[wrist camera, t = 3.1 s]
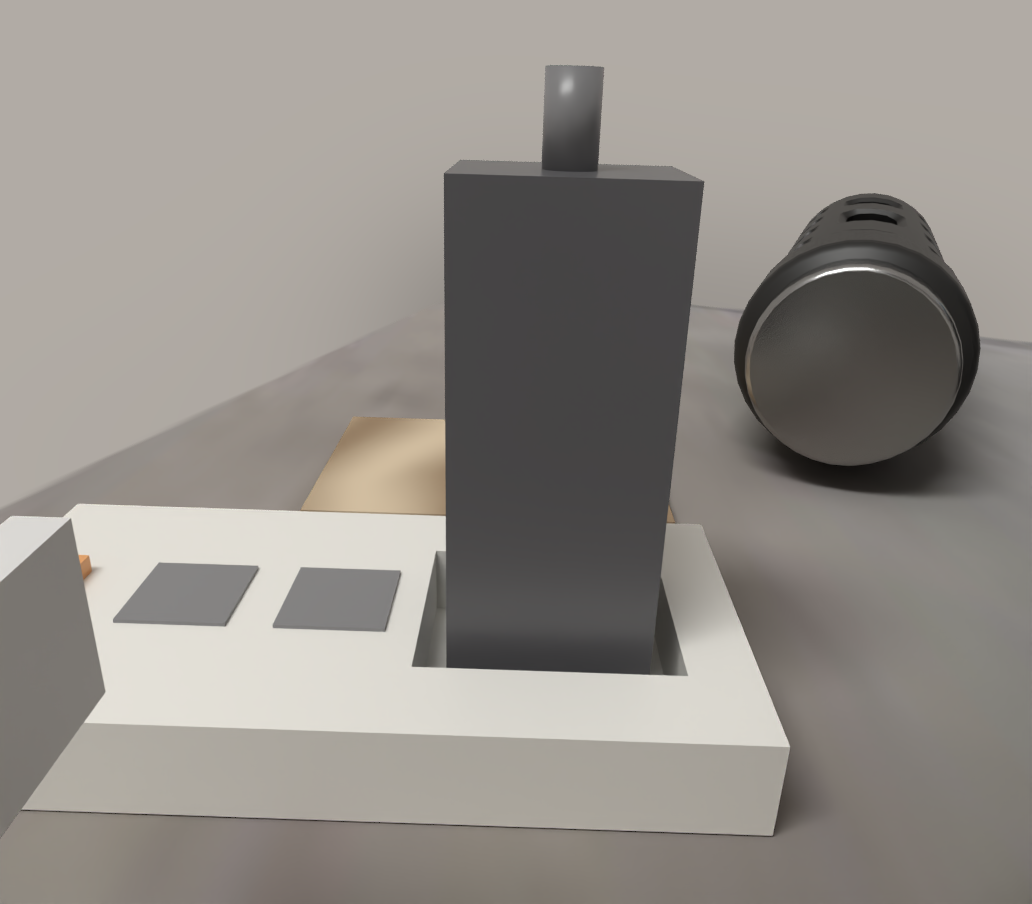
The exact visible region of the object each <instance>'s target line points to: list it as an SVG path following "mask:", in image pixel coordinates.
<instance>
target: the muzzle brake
mask: <svg viewBox="0 0 1032 904" xmlns="http://www.w3.org/2000/svg"><path fill="white" fill-rule="evenodd" d="M979 355H980V339H979V329H978V323H977V321H976V318H975V315H974V312H973V309H972V306H971V303H970V301H969V299H968V297H967V294H966V292H965V290H964V288H963V286H962V285H961V283H960V282H959V280H958V279H957V277H956V275H955V274H954V272H953V270H952V269H951V268H950V267H949V266H948V265H947V264H946V263H945V262H944V260H943V258H942V255H941V253H940V250H939V248H938V246H937V243H936V241H935V238H934V236H933V234H932V232H931V229H930V227H929V226H928V224H927V222H926V221H925V219H924V218H923V216H922V215H921V214H919V213H918V212H917V211H916V210H915V209H914V208H913V207H911V206H910V205H908V204H907V203H905V202H904V201H902V200H899V199H897V198H894V197H891V196H888V195H881V194H875V193H874V194H859V195H854V196H849V197H846V198H843V199H841V200H838V201H836V202H834V203H832V204H831V205H829V206H827V207H826V208H824V209H823V210H821V211H820V212H819V213H818V214H817V215H816V216H815V217H814V218H813V219H812V220H811V221H810V222H809V224H808V225H807V226H806V228H805V229H804V231H803V232H802V234H801V235H800V237H799V238H798V240H797V241H796V243H795V245H794V246H793V247H792V249H791V250H790V252H789V253H788V255H787V256H786V257H785V258H784V259H783V260H782V261H781V262H779V263H778V264H777V265H776V266H775V267H774V268H773V269H772V270H771V271H770V273H769V274H768V275H767V276H766V278H765V279H764V281H763V282H762V283H761V285H760V286H759V288H758V289H757V290H756V292H755V293H754V295H753V296H752V297H751V299H750V300H749V302H748V304H747V307H746V308H745V311H744V313H743V315H742V317H741V319H740V322H739V326H738V330H737V334H736V339H735V351H734V364H735V370H736V375H737V381H738V384H739V387H740V389H741V392H742V394H743V397H744V399H745V402H746V403H747V405H748V406H749V408H750V409H751V411H752V412H753V414H754V415H755V417H756V418H757V419H758V420H759V421H760V423H761V424H762V425H763V426H764V427H765V428H766V429H767V430H768V431H769V432H770V433H771V434H773V435H774V436H775V437H776V438H777V439H778V440H779V441H780V442H782V443H783V444H785V445H786V446H788V447H789V448H790V449H792V450H793V451H795V452H797V453H799V454H801V455H803V456H805V457H807V458H810V459H812V460H815V461H819V462H823V463H827V464H830V465H844V466H855V465H864V464H872V463H875V462H879V461H882V460H886V459H890V458H892V457H894V456H896V455H899V454H901V453H903V452H905V451H907V450H909V449H911V448H913V447H915V446H917V445H919V444H921V443H923V442H924V441H925V440H927V439H928V438H930V437H931V436H932V435H934V434H935V433H937V432H938V431H939V430H941V429H942V428H943V427H944V425H945V424H946V423H947V422H948V421H949V420H950V419H951V418H952V417H953V416H954V415H955V414H956V413H957V411H958V410H959V408H960V407H961V405H962V404H963V402H964V400H965V399H966V397H967V396H968V394H969V392H970V390H971V387H972V384H973V381H974V379H975V376H976V373H977V370H978V362H979Z"/></svg>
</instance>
